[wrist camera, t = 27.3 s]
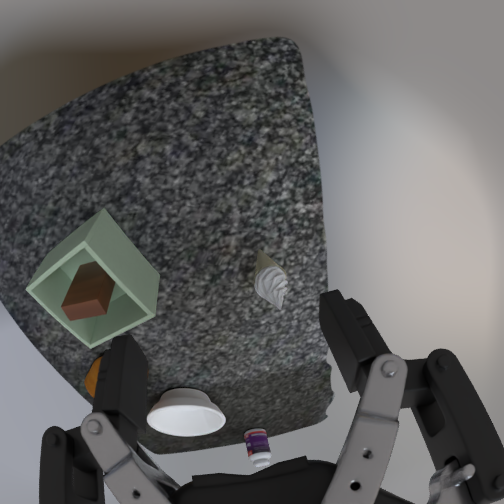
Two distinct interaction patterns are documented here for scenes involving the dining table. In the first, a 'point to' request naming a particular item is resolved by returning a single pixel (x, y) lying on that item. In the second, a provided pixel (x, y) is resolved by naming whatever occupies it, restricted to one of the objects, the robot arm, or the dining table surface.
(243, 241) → the dining table surface
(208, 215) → the dining table surface
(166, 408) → the bowl
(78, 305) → the chocolate bar
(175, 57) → the dining table surface
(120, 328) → the trash bin
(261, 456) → the pill bottle
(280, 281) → the ice cream cone
